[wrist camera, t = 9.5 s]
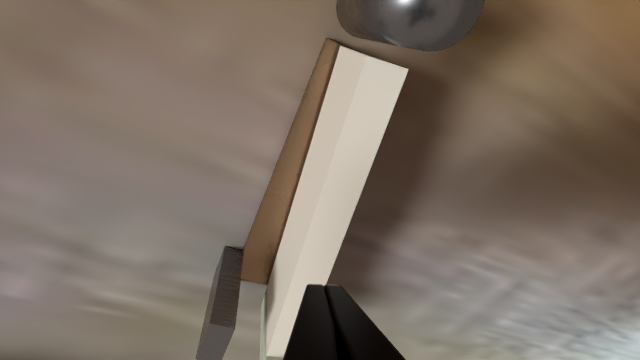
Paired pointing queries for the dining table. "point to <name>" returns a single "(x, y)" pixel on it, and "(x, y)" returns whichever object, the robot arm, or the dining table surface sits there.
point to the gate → (328, 187)
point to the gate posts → (267, 230)
